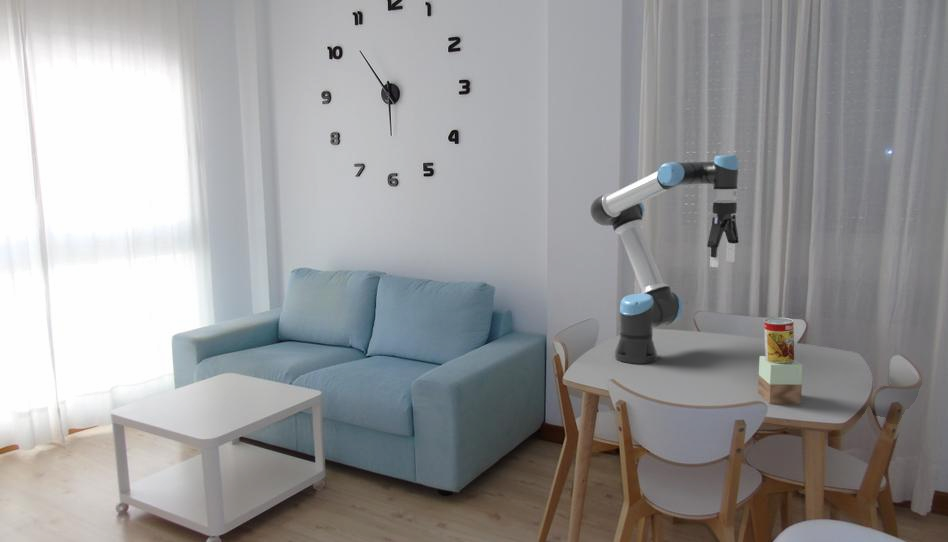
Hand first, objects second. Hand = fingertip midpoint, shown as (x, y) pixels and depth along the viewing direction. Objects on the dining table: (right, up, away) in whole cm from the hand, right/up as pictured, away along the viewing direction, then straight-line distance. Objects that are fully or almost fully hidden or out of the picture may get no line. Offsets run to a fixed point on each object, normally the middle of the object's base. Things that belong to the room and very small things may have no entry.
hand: (722, 264), depth 219 cm
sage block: (+8, -35, -25) cm, 44 cm away
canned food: (+7, -29, -26) cm, 39 cm away
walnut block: (+8, -41, -24) cm, 48 cm away
